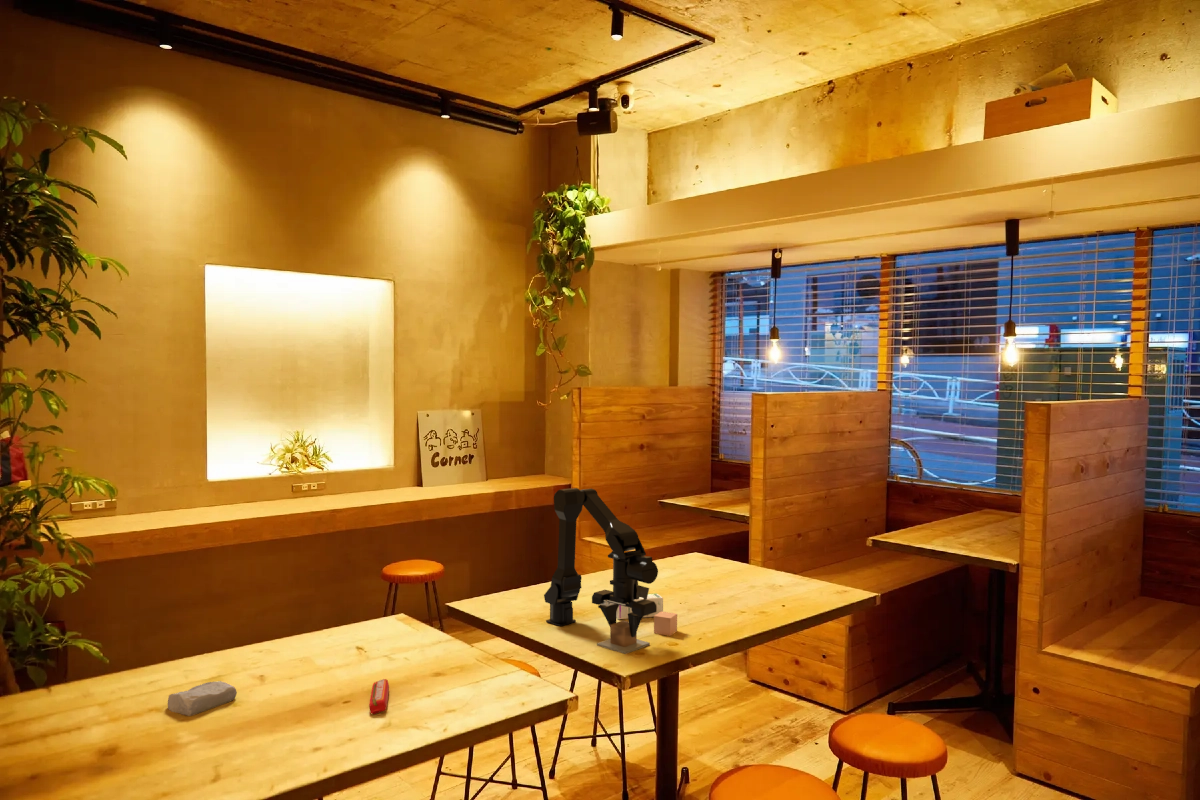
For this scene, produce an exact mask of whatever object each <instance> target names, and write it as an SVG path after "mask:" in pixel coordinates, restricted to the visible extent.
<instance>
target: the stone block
mask: <svg viewBox="0 0 1200 800" xmlns="http://www.w3.org/2000/svg"><path fill="white" fill-rule="evenodd" d="M237 693H238V692H237V688H236V687H235V686H233V685H231V684H230V683H228V682H225V681H221V680H218V681H209V682H208V681H207V682H205V683H202V684H199V685H195V686H193V687H191V688H189V689H188V690H184V691H179V692H176V693H171V694H169V695H168V699H167V709H168V710H169V711H170V712H171V713H176V714H177V713H178V714H180V715H182V716H183V715H184V716H187V717H191V716H194V715H197V714H201V713H203V712H206V711H208V710H211V709H214V708H216V707H219V706H222V705H224V704H227V703H230V702H231V701H234V700H235V698H236V697H237Z"/></svg>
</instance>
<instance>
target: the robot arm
mask: <svg viewBox="0 0 1200 800" xmlns="http://www.w3.org/2000/svg"><path fill="white" fill-rule="evenodd" d="M553 507H554V512H555V514H556V516H557V517H558V519H559V521H558V523H559V525H558V547H557V548H558V550H557V551H558V553H557V568H556V570H555V571H554V573H553V575H552V577H551V582H550V587H549V588H548V589H547V590H546V591H545V592H544V594H543V598H544V602H545V603H547V604H549V618H548V619H546V620H545V622H546V623H547V624H552V625H556V626H559V627H564V626H566V625H570V624H574V623H576V622H577V620H576V619H574V608H573V602H575V601H578V598H579V594H580V591H581V589H582V575H581V574H579V573H578V572H577V570H576V567H575V566H576V565H575V564H576V539H577V537H576V536H577V520H578V517H579V516H580V514H581V513H582V512H583V507H584V508H585V509H586V510H587V512H588V513H589V515H591V517H592V518H593V519H594V520H595V522H596V523H597V524H598V526H600V528H601V529H602V530H603V532H604V534H605V541H606V543H607V544H608V546H609V548H610V549H611V552H609V554H608V555H607V557H608V558H609V559H612V579H611V580H609V585H612V591H611V590H610V589H609V590H608V589H603V590H599V591H595V592H593V594H592V595H591V604H594V605H598V606H597V607H598V609H600V610H601V612H602V614H603V617H604V618H605V620H606V621H607V624H608V626H609V627H610V625H611V624H614V623H617V618H616V615H617V609H618V606H619V605H622V606H626V607H630V608H631V610H632V613H628V619H627V620H628V622H629V627H630V633H631V637H635V635H636V632H637V631H638V630H639V629H638V628H639V626H640V624H641V622H642V620H643V618H644V617H643V616H646V615H649V614H652V613H655V612H657V606H656V603H655V602H654V601H650V600H646V599H647V596H648V594H649V590H650V587H646V586H643V585H639V582H641V583H644V584H649V585H650V584H652V583H654V582H655V581H656V579H657V578H658V575H659V569H658V566H657V564H656V563H655V562H654V561H653V557H652V556H646V555H647V553H646V551H645V548H644V546H643V544H642V542H641V540H640V538H639V534H638V532H637V531H636V530H635V529H634V528H632V527H631V526H630V525H629V524H628V523H625V522H622V521H621V520H620V519H618V518H617V516H616V515H615V514H614V513H613V512H612V510H611V509H610V508H609V506H607V504H606V503H605V502H604V501H603V500H602V499H601V497H600V496H599V494H598V491H597V490H596V489H594V488H584V489H580V488H577V487H573V488H571V487H570V488H563V489H558V490H557V491H556V492H555V493H554V495H553ZM639 597H642V598H644V599H643V600H640V601H637V602H636V601H634V599H636V600H637V599H639Z"/></svg>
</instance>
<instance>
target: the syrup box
mask: <svg viewBox="0 0 1200 800" xmlns="http://www.w3.org/2000/svg"><path fill="white" fill-rule="evenodd" d="M643 599H644V598H642V597H639V599H637V600H636V599H634V601H636V602H637V601H640V600H643ZM646 600H650V601H654V602H655V603H656V606H657V612H655V613H652V614H649V615H646V616H643V618H654V616H655V615H656V614H658V613H659V612H661V611H662V612H664V597H662V596H661V595H660V594H658V593H657V592H655V593H648V596H647V599H646ZM628 613H632V610H631V608H630V607H626V606H622V605H619V606H618V609H617V615H616V620H617V619H618V620H625V619H626V620H628Z"/></svg>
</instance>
